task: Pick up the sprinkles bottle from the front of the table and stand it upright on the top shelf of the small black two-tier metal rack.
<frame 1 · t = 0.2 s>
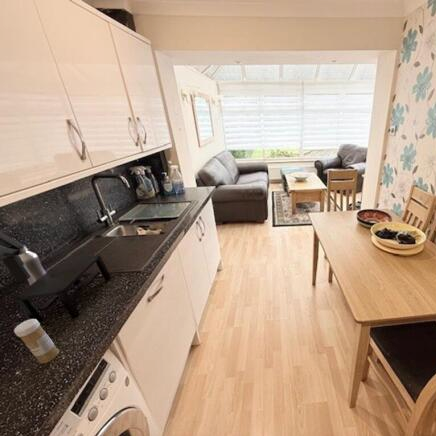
rack: (77, 298, 93), on the countertop
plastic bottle: (45, 288, 100), on the countertop
sprinkles bottle: (50, 357, 71), on the countertop
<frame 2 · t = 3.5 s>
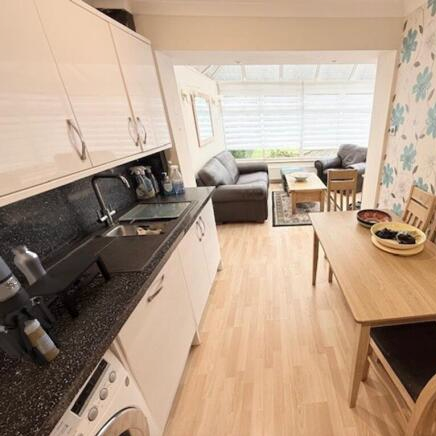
hand: (48, 355, 70), 1 cm above the countertop, tool pointing down, fingers closed on sprinkles bottle, 4 cm apart
sprinkles bottle: (50, 357, 71), on the countertop, touching gripper
everything else where it was.
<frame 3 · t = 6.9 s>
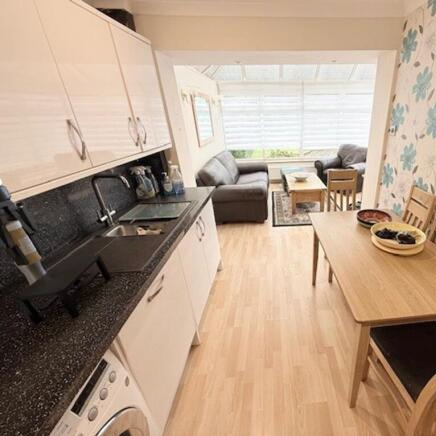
hand: (31, 259, 74), 25 cm above the countertop, tool pointing down, fingers closed on sprinkles bottle, 4 cm apart
sprinkles bottle: (32, 262, 74), point 24 cm above the countertop, touching gripper
everything else where it was.
when the fingers open (13 cm above the countertop, at t = 10.6 s): sprinkles bottle stays where it is, resting on rack.
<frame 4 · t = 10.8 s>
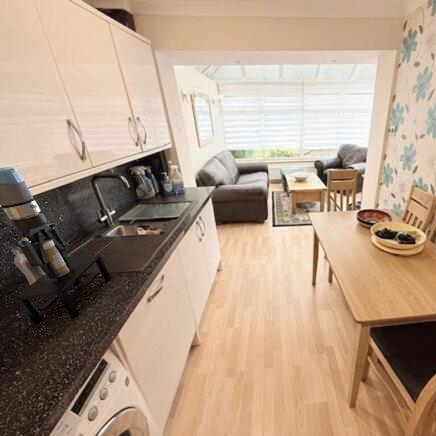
hand: (61, 272, 88), 13 cm above the countertop, tool pointing down, fingers open, 6 cm apart
sprinkles bottle: (62, 274, 88), point 12 cm above the countertop, touching rack
everything else where it was.
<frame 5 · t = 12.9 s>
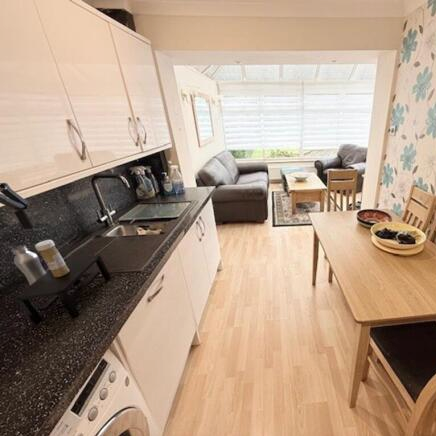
hand: (11, 237, 76), 30 cm above the countertop, tool pointing down, fingers open, 13 cm apart
nothing on the countertop moved.
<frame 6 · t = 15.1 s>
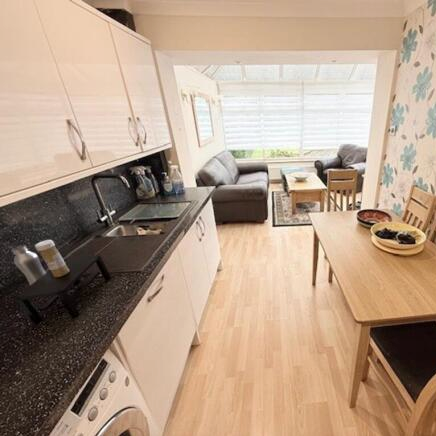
nothing on the countertop moved.
at the end: sprinkles bottle inside the target area on the rack (0.1 cm from its centre), point 11.8 cm above the rack's base; sprinkles bottle tilted 0°; the gripper is holding nothing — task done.
